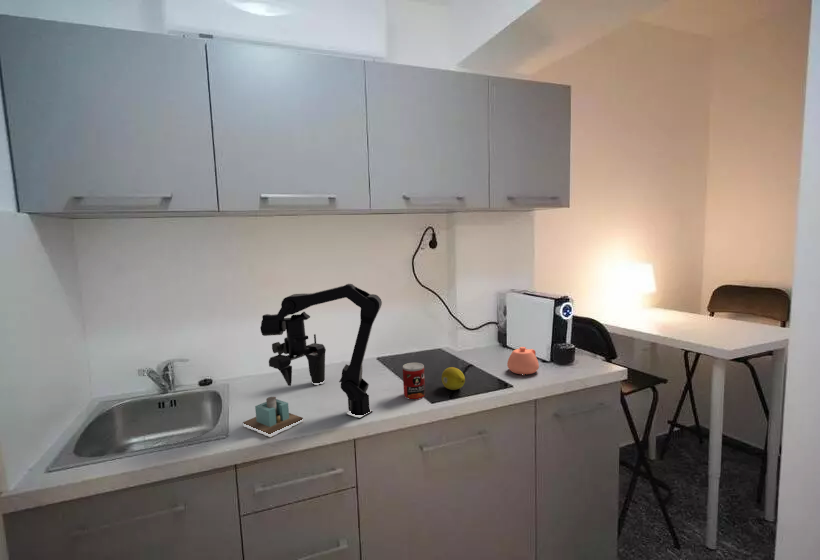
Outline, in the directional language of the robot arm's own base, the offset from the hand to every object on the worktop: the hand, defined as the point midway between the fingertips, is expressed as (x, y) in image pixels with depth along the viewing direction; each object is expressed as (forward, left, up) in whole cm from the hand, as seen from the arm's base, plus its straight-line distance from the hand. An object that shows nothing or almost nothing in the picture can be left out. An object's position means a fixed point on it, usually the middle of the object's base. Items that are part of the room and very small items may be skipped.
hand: (300, 380), depth 132 cm
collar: (+3, +10, -10) cm, 14 cm away
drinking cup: (+19, -22, -12) cm, 31 cm away
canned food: (-22, -31, -12) cm, 40 cm away
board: (+3, +10, -12) cm, 15 cm away
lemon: (-31, -43, -12) cm, 55 cm away
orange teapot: (-46, -74, -12) cm, 88 cm away
